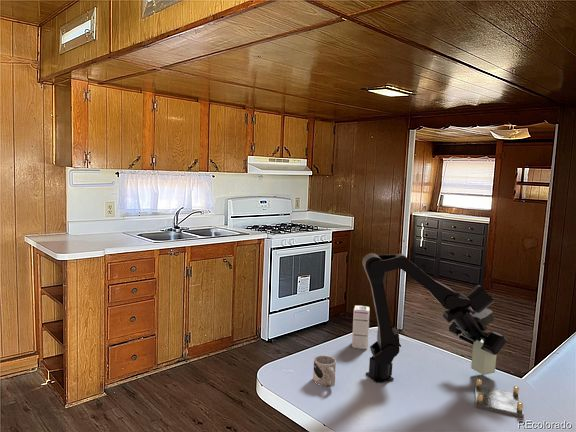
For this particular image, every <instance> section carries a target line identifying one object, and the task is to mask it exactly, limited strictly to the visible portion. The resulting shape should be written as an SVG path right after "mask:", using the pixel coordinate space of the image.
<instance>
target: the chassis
mask: <svg viewBox="0 0 576 432" xmlns="http://www.w3.org/2000/svg"><path fill="white" fill-rule="evenodd" d="M482 383H483V380H482V379H481V378H476V383H475V384H476V385H475V386H474V397H475V398H474V401H475V408H477V409H482V410H486V411H490V412H491V411H492V412H496V413H499V414H500V413H501V414H504V415H509V416H513V417H519V418H523V419H524V418H525V414H524V409H523V408H524V403H523V402H521V401H522V400H521V397H520V394H519V391H520V387H519V386H516V385H514V386H513V390H512V391H513V392H510V391H504V390H500V389H494V388H489V387H485V386H482V385H483V384H482Z"/></svg>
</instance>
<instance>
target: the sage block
mask: <svg viewBox="0 0 576 432" xmlns="http://www.w3.org/2000/svg"><path fill="white" fill-rule="evenodd" d="M483 343H484V342H483V340H482V339H481V341H480V342H479V341H477V340H476V341H475V342H474V343H473V345H472V346H473V347H472V352H471V353H472V355H471V356H472V357H471V363H470V364H471V365H470V366H471V367H470V369H472V370H473V371H475V372H477V373H479V374H481V375H482V376H485V375H489V374H490V375H491V374H495V373H496V366H497V365H496V364H497V355H498V354H496V355H493V354H491V353H489V352H487V351H485V350H482V349H481V347H482V346H483Z"/></svg>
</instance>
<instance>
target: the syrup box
mask: <svg viewBox="0 0 576 432" xmlns="http://www.w3.org/2000/svg"><path fill="white" fill-rule="evenodd" d="M352 318H353V319H352V338H351V339H352V341H351V347H352V348H354V349H360V350H368V346H369V333H370V331H369V330H370V306H368V305H367V306H366V305H354V308H353V317H352Z"/></svg>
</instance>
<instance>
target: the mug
mask: <svg viewBox="0 0 576 432" xmlns="http://www.w3.org/2000/svg"><path fill="white" fill-rule="evenodd" d="M336 364H337V360H336V358H334V357H333V356H330V355H318V356H315V357H314V358H313V371H312V376H313V377H312V381H313V380H314V381H313V382H316V383H317V384H316V383H315V384H316V385H318V384H320V385H319V386H321V385H323V386H322V387H328V386H329V387H332V388H333V387H335V385H336V368H337V367H336Z"/></svg>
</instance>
